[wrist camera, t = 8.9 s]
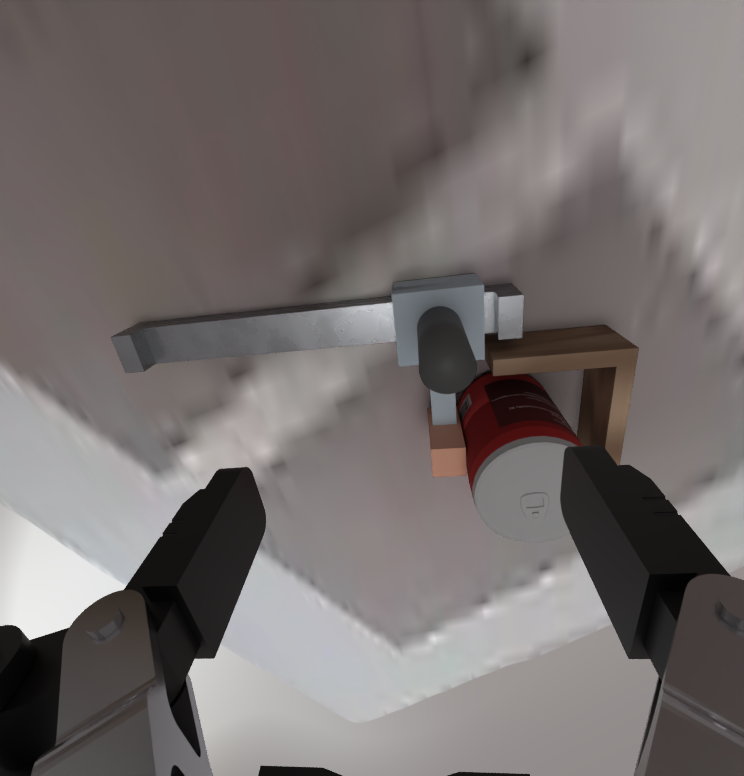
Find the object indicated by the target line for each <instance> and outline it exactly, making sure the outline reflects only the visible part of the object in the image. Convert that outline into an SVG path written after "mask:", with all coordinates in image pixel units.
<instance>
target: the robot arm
mask: <svg viewBox="0 0 744 776" xmlns="http://www.w3.org/2000/svg"><path fill="white" fill-rule="evenodd" d="M560 504H561V510H562V515H563V518H564V521H565V523H566V525H567V528H568V530H569V532H570V534H571V536H572V538H573V540H574V543H575V545H576V547H577V549H578V551H579V553H580V555H581V558H582V560H583V562H584V564H585V566H586V568H587V570H588V573H589V575H590V577H591V579H592V581H593V583H594V585H595V588H596V590H597V592H598V594H599V596H600V598H601V600H602V603H603V605H604V607H605V609H606V611H607V613H608V616H609V618H610V620H611V622H612V624H613V626H614V628H615V630H616V633H617V634H618V637H619V639H620V641H621V643H622V646H623V648H624V650H625V652H626V654H627V656H628V658H629V659H651V661H652V663H653V665H654V667H655V669H656V671H657V673H658V675H659V676H658V680H657V683H656V687H655V691H654V695H653V699H652V704H651V707H650V711H649V716H648V720H647V723H646V727H645V732H644V736H643V740H642V744H641V748H640V752H639V756H638V760H637V764H636V768H635V772H634V776H744V580H741V579H738V578H735V577H731V576H730V575H729V573H728V572H727V571H726V570H725V569H724V567H723V566H722V565H721V564H720V563H719V561H718V560H717V559H716V558H715V556H714V555H713V554H712V553H711V552H710V550H709V549H708V548H707V547H706V545H705V544H704V543H703V542H702V541H701V539H700V538H699V537H698V536H697V534H696V533H695V532H694V531H693V530H692V528H691V527H690V526H689V525H688V524H687V522H686V521H685V520H684V519H683V517H682V516H681V515H678V513H677V510H676V509H675V508H674V506H673V505H672V504H671V503H670V502H669V500H666V499H665V495H664V494H663V493H662V492H661V491H660V489H659V488H658V487H657V486H656V485H655V483H654V482H653V481H652V480H651V479H650V478H649V477H647V476H646V475H644V474H643V473H641V472H640V471H638V470H636V469H635V468H633V467H632V466H630V465H617V464H616V462H615V461H614V460H613V458H612V457H611V456H610V454H609V453H608V452H607V450H606V449H605V448H604V447H603V446H602V445H589V446H574V447H567V448H566V449H565V452H564V459H563V470H562V481H561V492H560ZM265 527H266V514H265V509H264V506H263V503H262V500H261V497H260V494H259V491H258V488H257V485H256V482H255V479H254V476H253V473H252V471H251V470H250V469H249V468H248V467H242V468H226V469H219V470H218V471H216V473H215V474H214V476H213V477H212V479H211V480H210V482H209V484H208V485H207V487H206V488H205V489H200V490H199V491H197V492H196V493H195V494H194V495H193V496H191V497H190V498H189V499H188V500H187V501H186V502H184V503H183V504H182V506H181V507H180V509H179V510H178V512H177V513H176V515H175V516H174V518H173V519H172V523H169V525H168V526H167V528H166V529H165V531H164V532H163V536H162V537H160V538H159V539H158V541H157V542H156V544H155V545H154V547H153V548H152V550H151V551H150V553H149V554H148V555H147V557H146V558H145V560H144V561H143V563H142V564H141V566H140V567H139V569H138V570H137V572H136V573H135V574H134V576H133V577H132V579H131V580H130V582H129V583H128V585H127V586H126V588H125V589H124V590H122V591H117V592H114V593H111V594H109V595H107V596H105V597H103V598H101V599H99V600H97V601H96V602H95V603H93V604H92V605H91V606H89V607H88V608H87V609H85V610H84V611H83V612H82V613H81V614H80V615H79V616H78V617H77V618H76V620H75V621H74V622H73V623H72V625H71V626H70V628H67V629H64V630H61V631H58V632H55V633H51V634H48V635H45V636H42V637H38V638H35V639H32V640H29V639H28V638H27V637H26V636H25V635H24V633H23V632H22V631H21V630H20V629H19V628H18V627H16V626H13V625H5V626H0V776H213V773H212V770H211V768H210V763H209V759H208V755H207V750H206V746H205V741H204V737H203V732H202V728H201V724H200V719H199V714H198V710H197V705H196V701H195V696H194V691H193V687H192V682H191V679H190V677H189V675H188V672H189V670H190V667H191V665H192V663H193V661H194V659H195V658H197V659H200V658H201V659H202V658H215V656H216V653H217V651H218V648H219V646H220V643H221V641H222V638H223V636H224V633H225V631H226V628H227V626H228V623H229V620H230V618H231V615H232V613H233V610H234V608H235V605H236V603H237V600H238V598H239V595H240V593H241V590H242V588H243V585H244V583H245V580H246V578H247V575H248V573H249V570H250V568H251V565H252V563H253V560H254V558H255V555H256V553H257V550H258V548H259V545H260V543H261V540H262V538H263V535H264V532H265ZM258 776H342V775H339V774H337V773H334V772H332V771H329V770H327V769H324V768H314V767H311V768H310V767H282V766H280V767H279V766H261V767H260V771H259V775H258ZM448 776H530V774H509V773H506V774H505V773H474V772H458V773H455V774H452V775H448Z"/></svg>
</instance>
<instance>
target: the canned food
mask: <svg viewBox="0 0 744 776" xmlns="http://www.w3.org/2000/svg"><path fill="white" fill-rule="evenodd" d="M458 414H459V419H460V423H461V428H462V432H463V437H464V442H465V446H466V467H467V473H468V478H469V483H470V487H471V491H472V496H473V500H474V504H475V506H476V509H477V512H478V514H479V516H480V517H481V519H482V521H483V522H484V523H485V524H486V525H487V526H488V527H489V528H490V529H492V530H493V531H494V532H496V533H497V534H499V535H501V536H503V537H505V538H508V539H512V540H515V541H521V542H544V541H550V540H554V539H557V538H560V537H563V536H565V535H567V534H569V533H570V532H569V530H568V528H567V525H566V523H565V521H564V518H563V515H562V510H561V504H560V492H561V481H562V470H563V459H564V452H565V449H566V448H567V447H574V446H583V445H582V444H581V442H580V441H579V439H578V438H577V436H576V435H575V433H574V432H573V430H572V429H571V427H570V426H569V424H568V423H567V422H566V420H565V419H564V417H563V416H562V414H561V413H560V411H559V410H558V408H557V407H556V405H555V404H554V402H553V401H552V400H551V398H550V397H549V395H548V394H547V392H546V391H545V389H544V388H543V387H542V385H541V384H540V383H538V382H537V381H536V380H535V379H533V378H531V377H530V376H528V375H526V374H515V375H502V376H493V374H492V372H490V373H488V374H485V375H483V376H481V377H479V378H478V379H477V380H475V381H474V382H473V383H472V384H471V385H470V386H469V387H468V388H467V389H466V391H465V392H464V394H463V396H462V399H461V401H460V403H459V407H458Z"/></svg>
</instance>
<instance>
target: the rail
mask: <svg viewBox="0 0 744 776" xmlns="http://www.w3.org/2000/svg"><path fill="white" fill-rule="evenodd" d="M523 301H524V295H523V294H522V293H521V292H520V291H519V290H518V289H517V288H516V287H515V286H514V285H513V284H512V283H511V284H501V285H492V286H484V326H485V333H495V335H496V336H497V338H498V340H503V339H514V338H522V331H523ZM111 340H112V342H113V344H114V347H115V349H116V351H117V354H118V356H119V359H120V361H121V363H122V366H123V368H124V370H125V373H133V372H144V371H146V370H147V369H149V368H150V367H152V366H153V365H154V364H157V363H168V362H179V361H190V360H201V359H212V358H223V357H234V356H245V355H256V354H267V353H277V352H288V351H299V350H310V349H321V348H332V347H343V346H354V345H365V344H376V343H387V342H396V334H395V324H394V315H393V306H392V296H388V297H379V298H370V299H360V300H351V301H341V302H332V303H323V304H313V305H304V306H294V307H285V308H276V309H266V310H257V311H247V312H238V313H229V314H219V315H210V316H200V317H191V318H182V319H172V320H163V321H153V322H144V323H138V324H136V325H134V326H132V327H130V328H128V329H126V330H124V331H122V332H120V333H118V334H116V335H114V336H112V337H111Z"/></svg>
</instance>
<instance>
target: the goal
mask: <svg viewBox="0 0 744 776" xmlns="http://www.w3.org/2000/svg"><path fill="white" fill-rule="evenodd" d="M638 351H639V348H638V347H637V346H635V345H634V344H632V343H631V342H630V341H628V340H627V339H625V338H624V337H622V336H621V335H620V334H618V333H617V332H615V331H614V330H612V329H611V328H609V327H608V326H607V325H599V326H588V327H577V328H566V329H555V330H544V331H533V332H522V338H514V339H503V340H498V338H497V336H496V335H489V336H485V359H486V361H487V363H488V365H489V368H490V370H491V372H492V374H493V376H502V375H515V374H528V373H540V372H553V371H566V370H579V369H584V378H583V388H582V397H581V407H580V416H579V425H578V435H577V438H578V439H579V441H580V442H581V444H582V445H583V446H589V445H602V446H603V447H604V448H605V449H606V450H607V452H608V453H609V454H610V456H611V457H612V458H613V460H614V461H615V462H616V464H617V465H620V459H621V453H622V447H623V441H624V435H625V429H626V423H627V417H628V411H629V405H630V399H631V393H632V387H633V381H634V375H635V369H636V363H637V357H638Z"/></svg>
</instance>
